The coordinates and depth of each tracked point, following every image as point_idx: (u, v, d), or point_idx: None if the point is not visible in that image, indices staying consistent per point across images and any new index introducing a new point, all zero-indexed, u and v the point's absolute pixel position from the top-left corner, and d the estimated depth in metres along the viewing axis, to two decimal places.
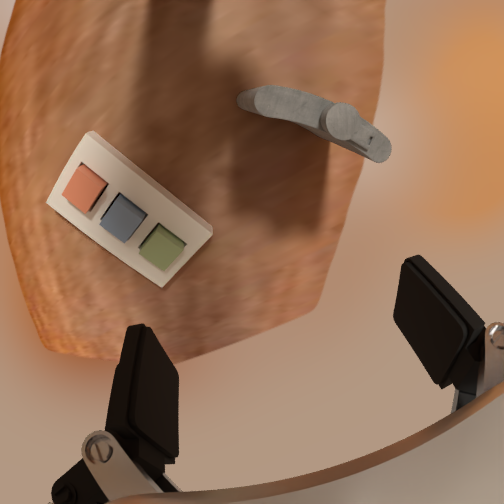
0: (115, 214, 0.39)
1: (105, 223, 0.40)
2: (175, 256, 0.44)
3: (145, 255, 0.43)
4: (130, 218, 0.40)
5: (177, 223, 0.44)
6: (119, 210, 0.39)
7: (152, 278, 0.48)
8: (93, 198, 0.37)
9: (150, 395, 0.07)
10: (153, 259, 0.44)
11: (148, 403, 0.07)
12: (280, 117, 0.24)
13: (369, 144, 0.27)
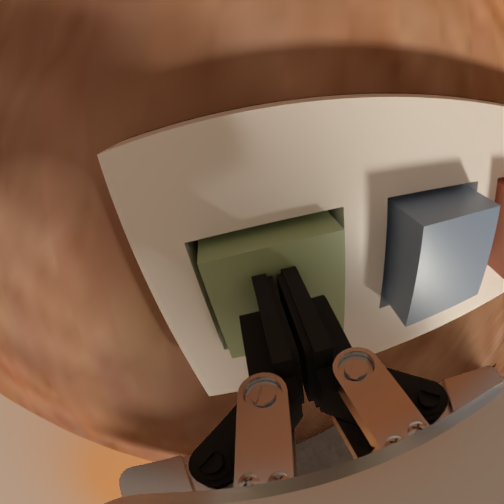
0: (472, 271, 0.11)
1: (488, 225, 0.09)
2: (229, 333, 0.11)
3: (316, 247, 0.10)
4: (436, 300, 0.11)
5: None
6: (466, 286, 0.11)
7: (168, 148, 0.08)
8: None
9: None
10: (277, 263, 0.10)
11: None
12: None
13: None
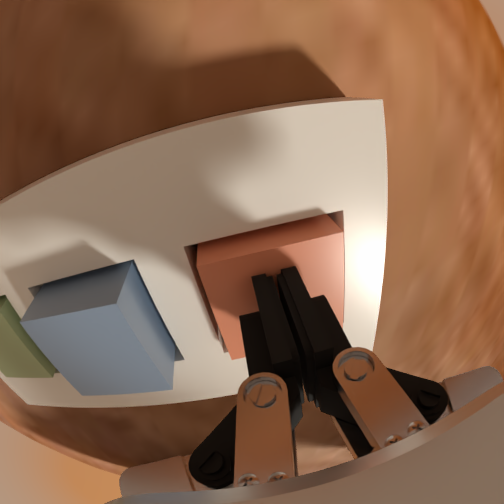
0: (127, 367, 0.10)
1: (108, 325, 0.09)
2: None
3: None
4: (96, 383, 0.11)
5: (54, 390, 0.14)
6: (133, 379, 0.11)
7: None
8: (225, 326, 0.11)
9: None
10: None
11: None
12: None
13: None
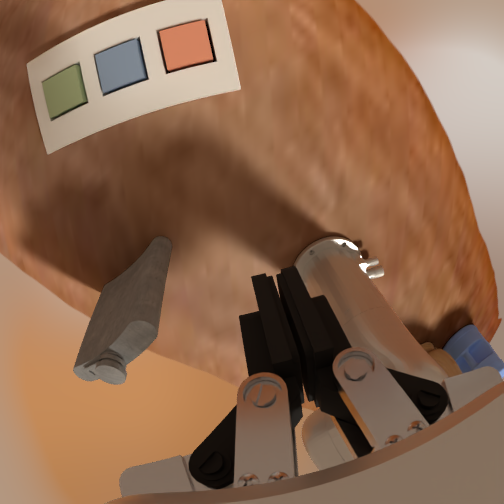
0: (130, 66, 0.25)
1: (130, 47, 0.24)
2: (48, 106, 0.25)
3: (68, 71, 0.23)
4: (113, 80, 0.25)
5: (75, 123, 0.27)
6: (130, 73, 0.25)
7: (40, 58, 0.21)
8: (166, 52, 0.25)
9: None
10: (59, 78, 0.23)
11: None
12: (125, 331, 0.26)
13: (88, 370, 0.28)
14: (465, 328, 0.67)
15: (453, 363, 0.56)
